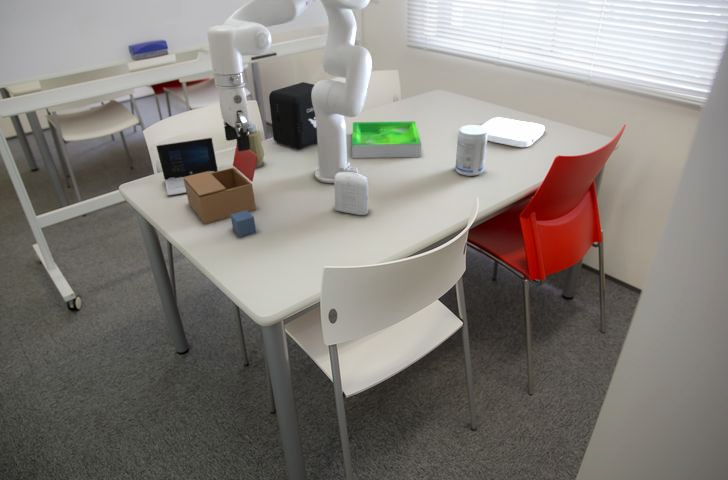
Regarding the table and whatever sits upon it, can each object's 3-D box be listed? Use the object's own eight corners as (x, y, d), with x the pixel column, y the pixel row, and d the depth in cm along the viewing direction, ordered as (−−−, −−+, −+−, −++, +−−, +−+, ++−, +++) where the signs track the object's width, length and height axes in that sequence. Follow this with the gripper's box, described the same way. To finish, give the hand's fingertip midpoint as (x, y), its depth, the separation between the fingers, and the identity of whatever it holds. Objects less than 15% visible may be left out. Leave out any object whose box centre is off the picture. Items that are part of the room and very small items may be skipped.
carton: (237, 191, 166) (233, 164, 160) (255, 209, 155) (251, 181, 150) (189, 204, 159) (182, 177, 153) (205, 224, 148) (198, 195, 143)
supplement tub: (473, 163, 180) (478, 123, 172) (488, 174, 172) (494, 131, 164) (449, 168, 177) (453, 126, 169) (463, 178, 170) (468, 136, 162)
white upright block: (370, 210, 153) (370, 172, 146) (365, 217, 149) (364, 178, 142) (338, 205, 156) (337, 167, 149) (333, 211, 153) (331, 173, 146)
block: (249, 225, 147) (246, 209, 144) (256, 232, 143) (253, 216, 141) (233, 230, 145) (230, 214, 142) (239, 237, 141) (236, 221, 138)
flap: (232, 165, 160) (233, 165, 160) (251, 181, 150) (252, 181, 150) (237, 140, 157) (238, 141, 158) (256, 155, 147) (257, 156, 147)
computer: (493, 122, 216) (494, 116, 214) (545, 132, 205) (547, 125, 203) (471, 138, 201) (472, 131, 200) (526, 149, 190) (527, 142, 189)
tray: (420, 156, 186) (421, 143, 184) (352, 157, 187) (351, 144, 184) (414, 133, 207) (415, 121, 204) (353, 134, 208) (353, 122, 205)
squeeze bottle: (260, 170, 180) (254, 119, 169) (239, 168, 181) (231, 118, 171) (268, 161, 186) (262, 112, 176) (247, 160, 188) (240, 111, 177)
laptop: (167, 197, 163) (158, 158, 156) (165, 182, 173) (155, 145, 166) (224, 187, 168) (217, 149, 161) (218, 173, 178) (211, 137, 171)
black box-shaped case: (298, 152, 193) (294, 99, 182) (273, 143, 201) (267, 92, 190) (335, 137, 205) (333, 86, 194) (309, 130, 213) (306, 80, 202)
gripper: (255, 84, 124) (262, 152, 134) (232, 71, 137) (240, 133, 146) (225, 88, 121) (235, 157, 130) (204, 74, 134) (214, 138, 143)
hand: (237, 144), depth 138 cm, fingers open, 9 cm apart
